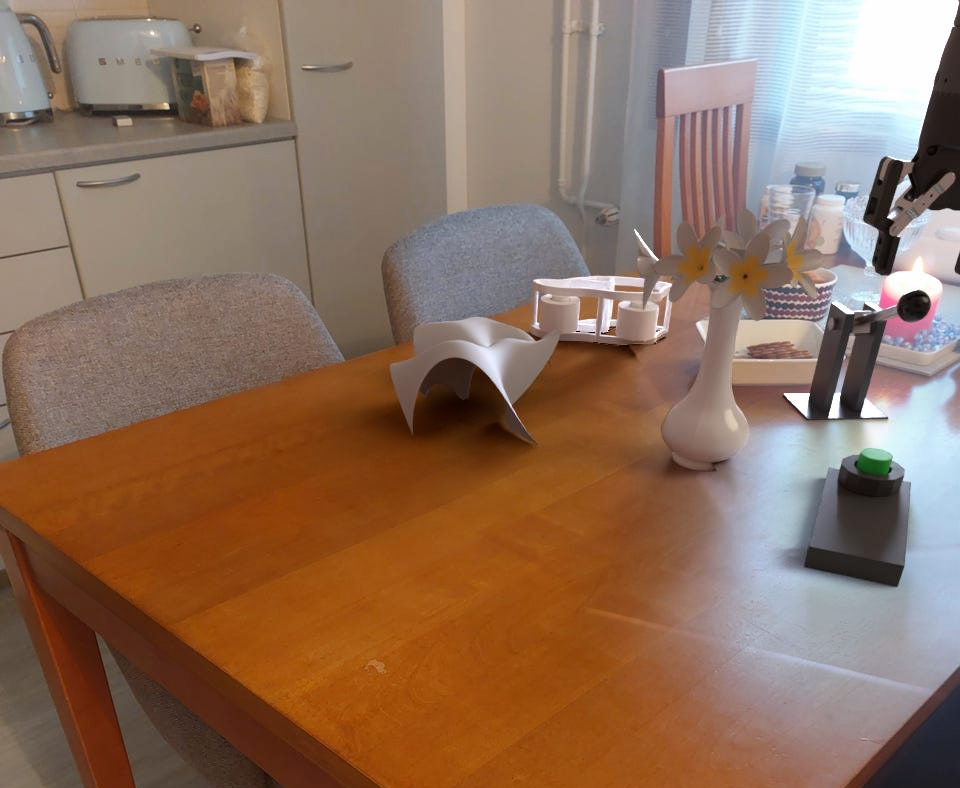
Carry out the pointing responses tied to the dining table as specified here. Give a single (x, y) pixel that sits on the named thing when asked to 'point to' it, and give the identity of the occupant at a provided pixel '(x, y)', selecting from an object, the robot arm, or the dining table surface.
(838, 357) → the lever bracket
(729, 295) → the flower vase
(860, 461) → the green button
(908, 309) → the switch lever
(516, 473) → the dining table surface
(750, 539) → the dining table surface
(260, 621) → the dining table surface
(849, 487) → the dark box
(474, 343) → the sculpture
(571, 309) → the car outline toy
